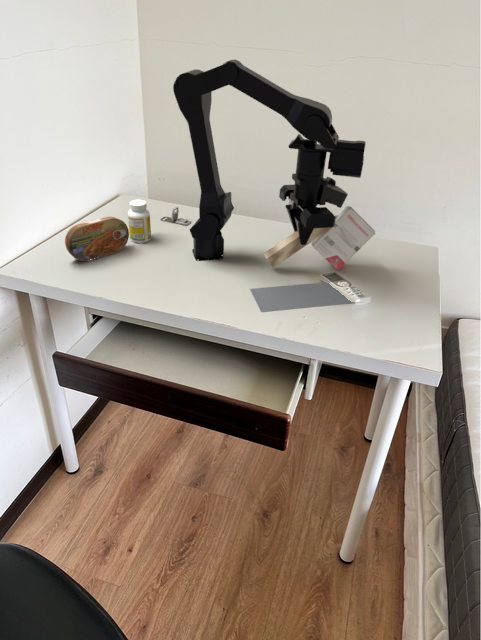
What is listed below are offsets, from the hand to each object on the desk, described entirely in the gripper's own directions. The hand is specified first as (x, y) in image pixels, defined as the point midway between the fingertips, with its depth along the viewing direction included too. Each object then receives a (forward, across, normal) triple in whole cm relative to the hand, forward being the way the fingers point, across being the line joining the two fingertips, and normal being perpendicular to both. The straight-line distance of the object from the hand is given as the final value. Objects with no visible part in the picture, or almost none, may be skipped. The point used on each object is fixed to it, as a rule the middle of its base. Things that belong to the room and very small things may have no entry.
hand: (301, 242), depth 104 cm
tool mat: (+7, -12, +2) cm, 14 cm away
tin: (+7, +15, +44) cm, 48 cm away
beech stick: (+1, 0, 0) cm, 1 cm away
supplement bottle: (+7, +22, +34) cm, 42 cm away
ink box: (+4, 0, -6) cm, 7 cm away
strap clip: (+8, +32, +24) cm, 41 cm away
